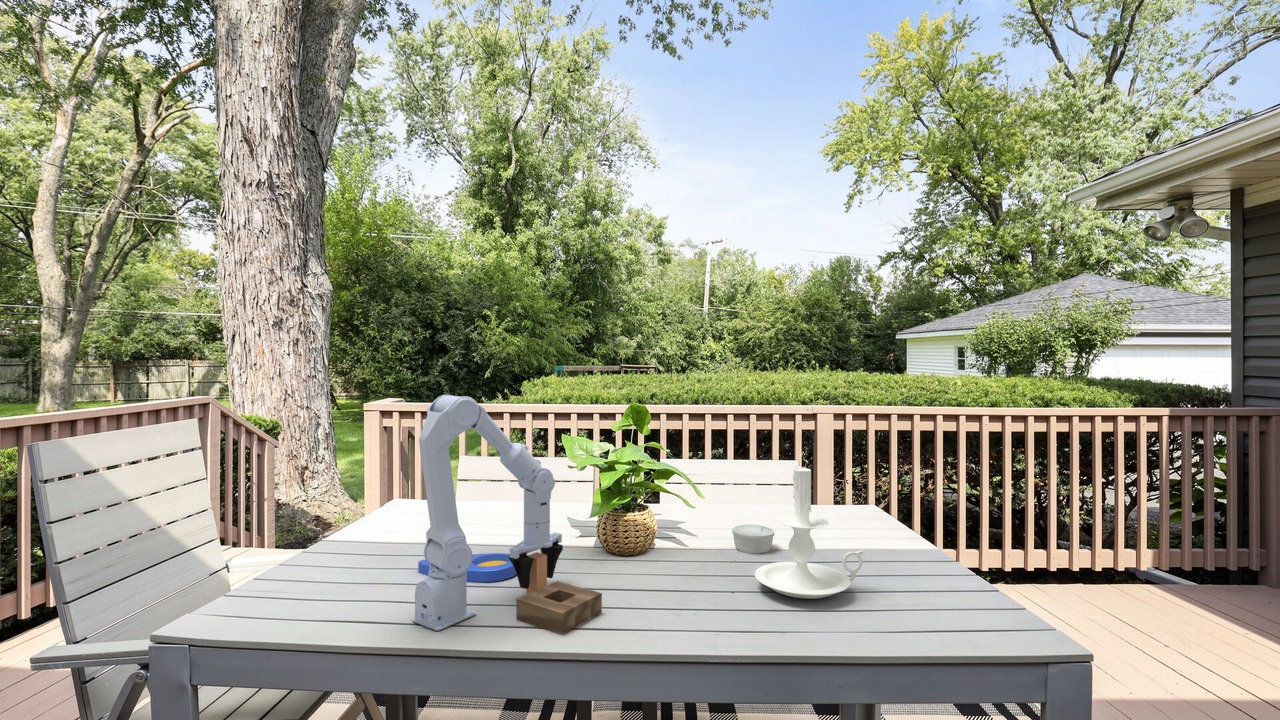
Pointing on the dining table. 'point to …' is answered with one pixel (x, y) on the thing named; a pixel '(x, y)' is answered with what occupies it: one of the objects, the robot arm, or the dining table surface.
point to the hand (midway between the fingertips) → (536, 582)
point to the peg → (538, 572)
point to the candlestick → (805, 553)
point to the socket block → (558, 607)
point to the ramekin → (753, 538)
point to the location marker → (483, 567)
